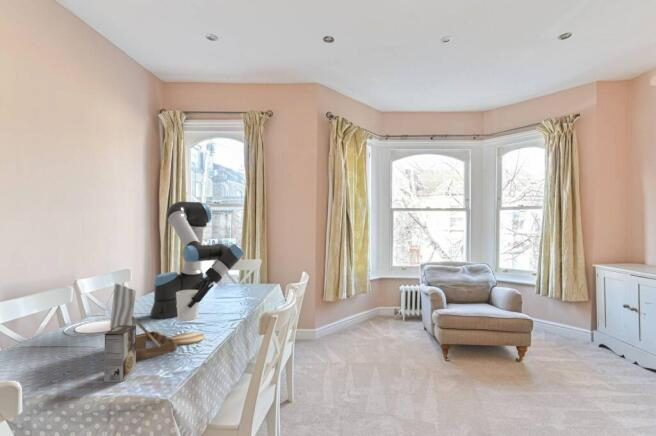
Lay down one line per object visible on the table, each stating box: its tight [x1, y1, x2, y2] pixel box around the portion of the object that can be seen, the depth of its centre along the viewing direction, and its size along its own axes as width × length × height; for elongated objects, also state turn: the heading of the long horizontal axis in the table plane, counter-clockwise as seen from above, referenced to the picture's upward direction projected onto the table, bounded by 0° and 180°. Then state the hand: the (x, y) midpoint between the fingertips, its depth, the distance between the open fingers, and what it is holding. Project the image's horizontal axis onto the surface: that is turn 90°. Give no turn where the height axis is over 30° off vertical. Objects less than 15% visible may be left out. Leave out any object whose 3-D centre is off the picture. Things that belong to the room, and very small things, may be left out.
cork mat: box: [170, 332, 205, 346], centre depth 156 cm, size 15×15×1 cm
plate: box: [63, 317, 111, 337], centre depth 172 cm, size 28×28×1 cm
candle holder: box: [176, 290, 200, 322], centre depth 156 cm, size 10×10×12 cm
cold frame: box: [109, 282, 178, 362], centre depth 143 cm, size 22×18×27 cm
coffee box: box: [103, 325, 137, 383], centre depth 119 cm, size 9×6×16 cm
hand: (180, 310), depth 154 cm, fingers closed on candle holder, 9 cm apart
